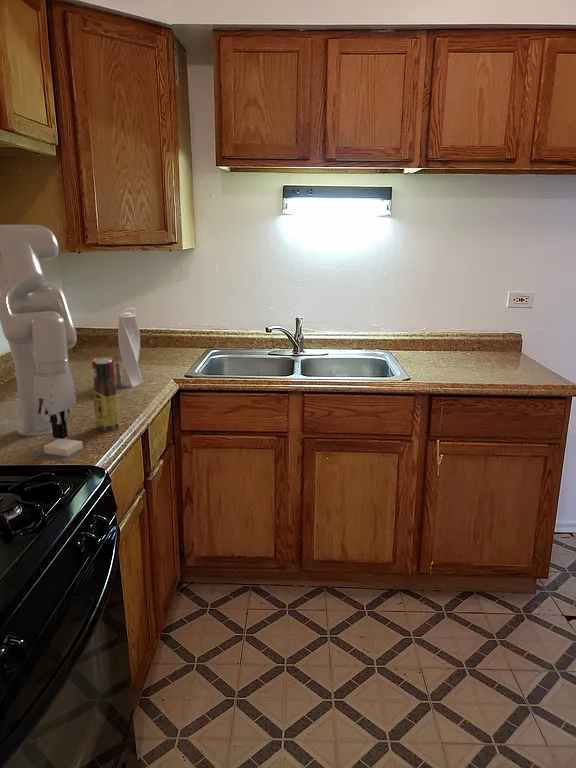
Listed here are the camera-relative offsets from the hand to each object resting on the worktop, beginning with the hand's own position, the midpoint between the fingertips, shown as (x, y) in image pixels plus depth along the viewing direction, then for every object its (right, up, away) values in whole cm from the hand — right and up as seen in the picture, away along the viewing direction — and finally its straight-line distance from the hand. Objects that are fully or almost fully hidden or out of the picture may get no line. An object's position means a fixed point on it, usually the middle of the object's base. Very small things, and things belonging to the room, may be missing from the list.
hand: (60, 437), depth 146 cm
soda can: (-5, +10, +53) cm, 55 cm away
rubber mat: (0, -5, 0) cm, 5 cm away
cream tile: (-1, -3, -2) cm, 4 cm away
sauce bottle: (+7, 0, +18) cm, 19 cm away
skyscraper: (+1, +13, +65) cm, 66 cm away
